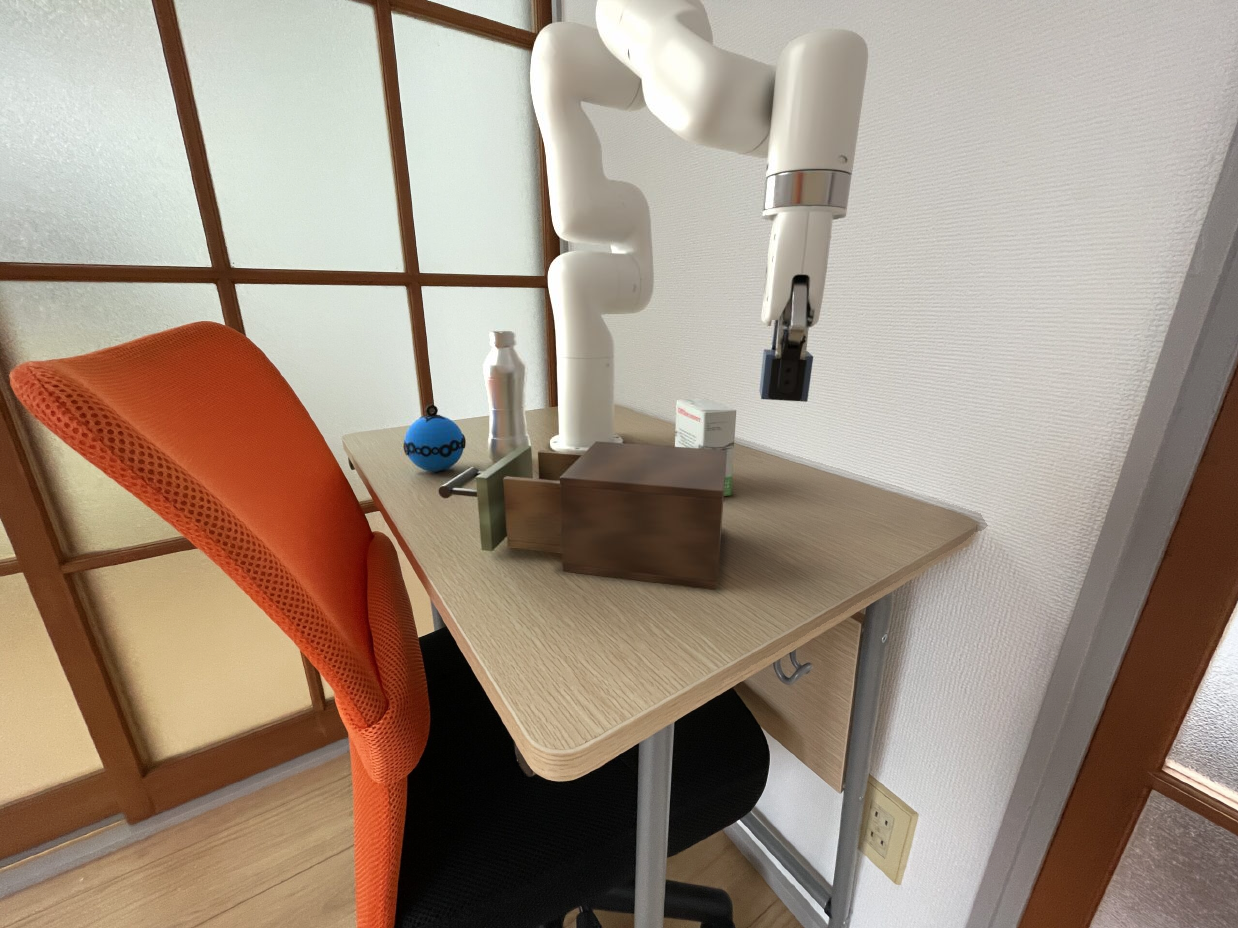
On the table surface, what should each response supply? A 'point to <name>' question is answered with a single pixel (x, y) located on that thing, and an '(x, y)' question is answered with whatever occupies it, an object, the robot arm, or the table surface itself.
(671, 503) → the cabinet
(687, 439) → the ink box
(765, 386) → the block
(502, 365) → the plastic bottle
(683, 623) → the table surface
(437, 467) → the ornament
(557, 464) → the drawer
